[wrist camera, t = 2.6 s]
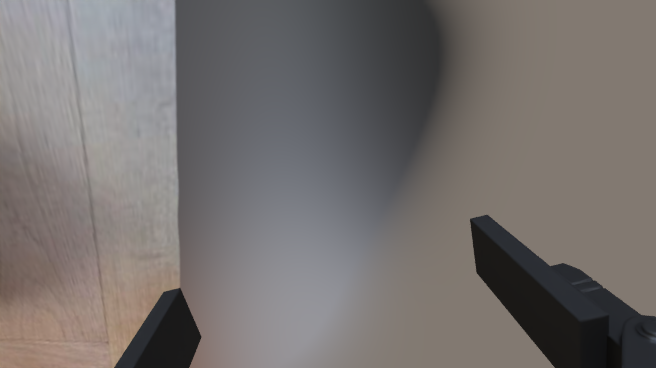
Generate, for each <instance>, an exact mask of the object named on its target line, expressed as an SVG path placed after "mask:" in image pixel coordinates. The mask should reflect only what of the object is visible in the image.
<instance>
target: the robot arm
mask: <svg viewBox="0 0 656 368" xmlns="http://www.w3.org/2000/svg"><path fill="white" fill-rule="evenodd" d="M470 222H471V231H472V239H473V247H474V255H475V263H476V272H477V274H478V275H479V276H480V277H481V278H482V280H483V281H484V282H485V283H486V284H487V286H488V287H489V288H490V289H491V291H492V292H493V293H494V294H495V295H496V297H497V298H498V299H499V300H500V301H501V303H502V304H503V305H504V306H505V308H506V309H507V310H508V311H509V312H510V314H511V315H512V316H513V317H514V319H515V320H516V321H517V322H518V323H519V324H520V326H521V327H522V328H523V329H524V330H525V332H526V333H527V334H528V336H529V337H530V338H531V339H532V340H533V342H534V343H535V344H536V345H537V346H538V348H539V349H540V350H541V351H542V353H543V354H544V355H545V356H546V357H547V359H548V360H549V361H550V362H551V364H552V365H553V366H554V367H555V368H656V317H655V316H645V315H640V314H639V313H638V312H636V311H635V310H634V309H632V308H631V307H630V306H628V305H627V304H625V303H624V302H623V301H622V300H620V299H619V298H618V297H616V296H615V295H613V294H612V293H611V292H609V291H608V290H607V289H605V288H603V287H602V286H601V285H600V284H599V283H597V282H596V281H593V280H592V278H591V277H589V276H588V275H586V274H585V273H584V272H582V271H581V270H580V269H577V268H575V267H572V266H569V265H567V264H564V263H562V264H558V265H554V266H549V265H548V264H547V263H546V262H544V261H543V260H542V259H541V258H539V257H538V256H537V255H536V254H534V253H533V252H532V251H531V250H530V249H528V248H527V247H526V246H525V245H523V244H522V243H521V242H520V241H518V240H517V239H516V238H515V237H514V236H513V235H511V234H510V233H509V232H507V231H506V230H505V229H504V228H503V227H502V226H500V225H499V224H498V223H497V222H495V221H494V220H493V219H492V218H491V217H489V216H488V215H484V216H481V217H476V218H472V219H470ZM200 339H201V335H200V332H199V330H198V328H197V326H196V323H195V321H194V319H193V316H192V314H191V312H190V310H189V307H188V305H187V302H186V300H185V298H184V296H183V293H182V291H181V289H180V288H178V289H174V290H170V291H166V292H163V294H162V295H161V297H160V298H159V300H158V301H157V303H156V305H155V306H154V308H153V309H152V311H151V312H150V314H149V315H148V317H147V318H146V320H145V321H144V323H143V324H142V326H141V327H140V329H139V331H138V332H137V334H136V335H135V337H134V338H133V340H132V341H131V343H130V344H129V346H128V347H127V349H126V350H125V352H124V353H123V355H122V357H121V358H120V360H119V361H118V363H117V364H116V366H115V367H114V368H189V367H190V364H191V362H192V359H193V357H194V354H195V352H196V349H197V347H198V344H199V342H200Z"/></svg>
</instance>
